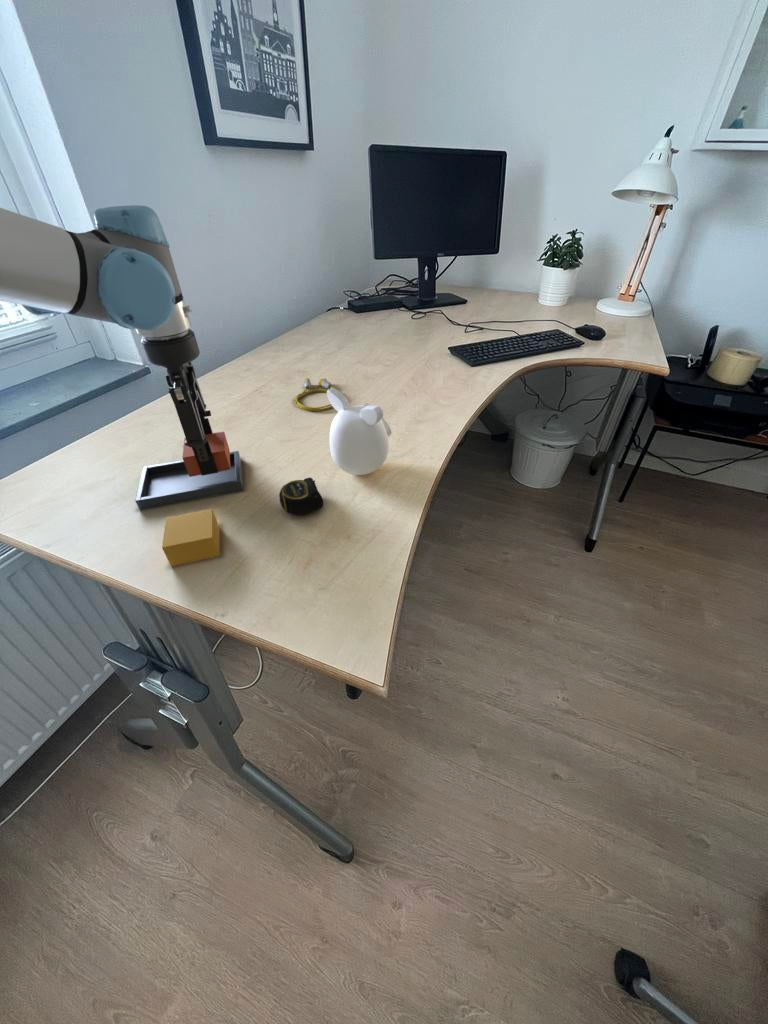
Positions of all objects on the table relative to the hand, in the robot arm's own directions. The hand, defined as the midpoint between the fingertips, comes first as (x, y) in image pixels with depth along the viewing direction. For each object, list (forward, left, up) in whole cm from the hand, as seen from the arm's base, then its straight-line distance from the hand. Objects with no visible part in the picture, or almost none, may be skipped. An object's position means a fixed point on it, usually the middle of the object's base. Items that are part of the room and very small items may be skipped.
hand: (210, 461), depth 79 cm
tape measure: (+15, -13, -4) cm, 20 cm away
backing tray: (-4, 0, -4) cm, 6 cm away
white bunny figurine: (+27, -5, -4) cm, 28 cm away
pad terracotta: (0, 0, 0) cm, 0 cm away
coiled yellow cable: (+25, +28, -4) cm, 38 cm away
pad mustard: (-3, -18, -4) cm, 19 cm away
